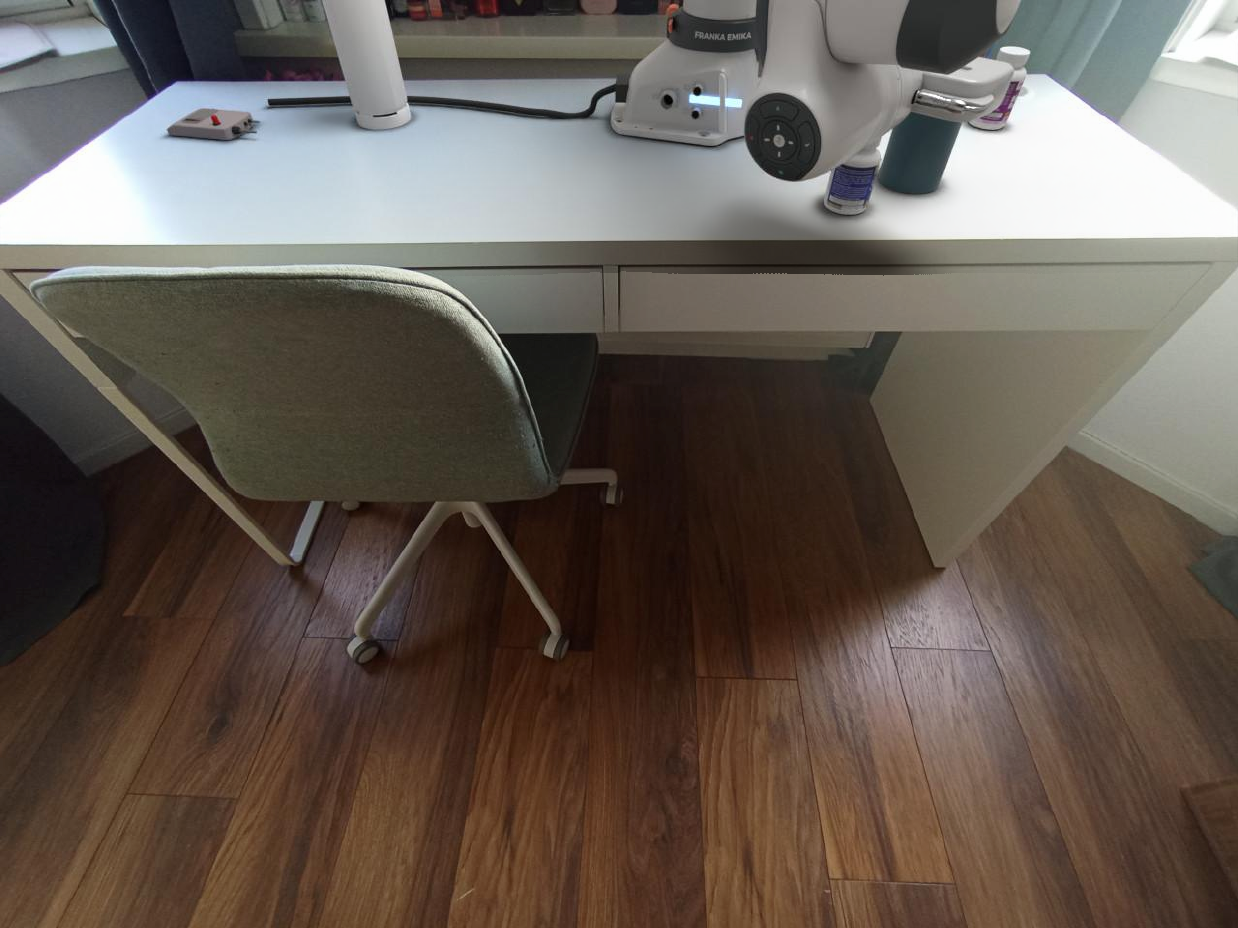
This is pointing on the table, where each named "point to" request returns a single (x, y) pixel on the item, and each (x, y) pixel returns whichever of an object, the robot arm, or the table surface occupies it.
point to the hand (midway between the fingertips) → (926, 52)
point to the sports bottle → (918, 153)
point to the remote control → (213, 124)
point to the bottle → (369, 61)
